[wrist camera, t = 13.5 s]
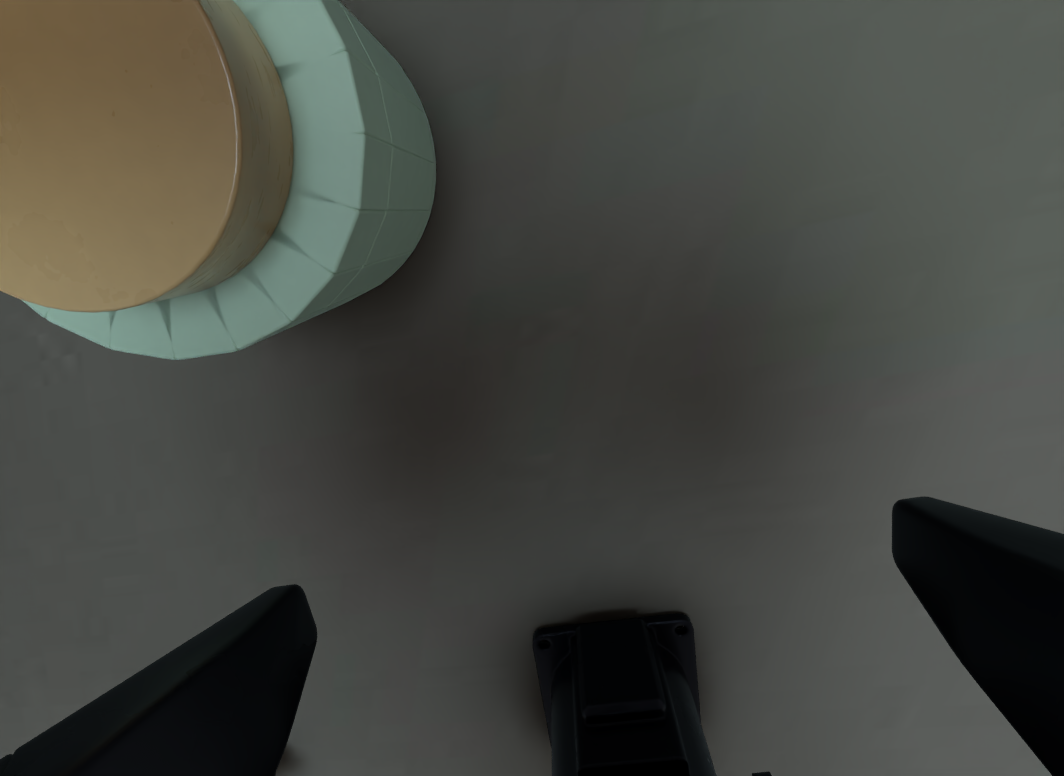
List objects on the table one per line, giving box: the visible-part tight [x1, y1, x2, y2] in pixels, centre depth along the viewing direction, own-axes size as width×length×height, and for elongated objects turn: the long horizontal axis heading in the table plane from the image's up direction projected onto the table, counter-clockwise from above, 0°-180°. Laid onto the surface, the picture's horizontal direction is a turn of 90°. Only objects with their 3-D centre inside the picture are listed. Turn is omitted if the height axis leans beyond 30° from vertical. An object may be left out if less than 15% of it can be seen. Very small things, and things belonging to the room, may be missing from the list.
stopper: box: [0, 0, 293, 313], centre depth 12 cm, size 6×6×6 cm
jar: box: [22, 0, 436, 360], centre depth 14 cm, size 9×9×8 cm
